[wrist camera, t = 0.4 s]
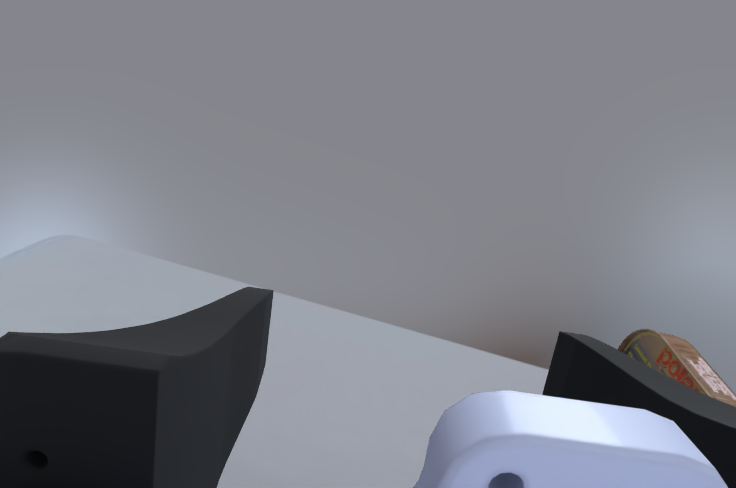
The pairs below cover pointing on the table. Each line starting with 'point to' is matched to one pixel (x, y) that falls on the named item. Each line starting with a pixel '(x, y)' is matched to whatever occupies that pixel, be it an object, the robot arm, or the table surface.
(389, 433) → the table surface
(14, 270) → the table surface
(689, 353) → the tin
